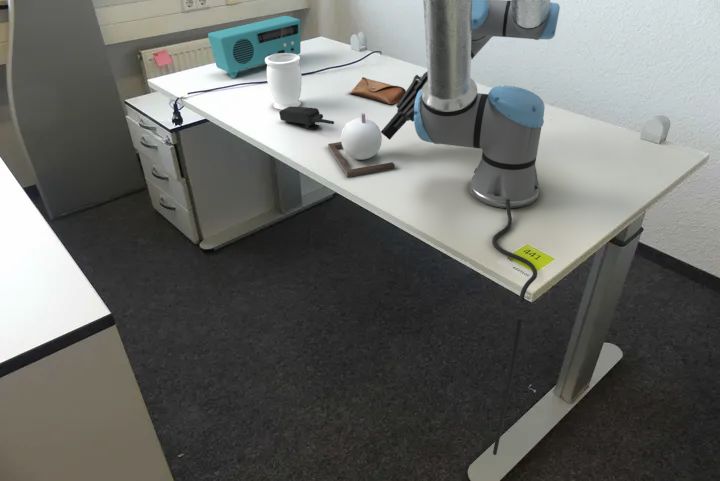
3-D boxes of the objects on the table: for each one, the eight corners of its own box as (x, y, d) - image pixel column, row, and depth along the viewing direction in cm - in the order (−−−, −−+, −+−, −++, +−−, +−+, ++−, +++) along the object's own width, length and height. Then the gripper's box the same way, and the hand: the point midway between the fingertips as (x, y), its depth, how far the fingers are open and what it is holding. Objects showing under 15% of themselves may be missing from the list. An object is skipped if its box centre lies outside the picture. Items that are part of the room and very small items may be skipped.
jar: (280, 114, 166) (275, 65, 158) (264, 104, 173) (258, 57, 165) (310, 106, 171) (306, 58, 163) (293, 97, 178) (288, 50, 170)
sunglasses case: (346, 93, 178) (352, 72, 177) (358, 98, 184) (364, 78, 183) (391, 104, 169) (398, 83, 168) (402, 109, 175) (408, 89, 174)
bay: (394, 169, 136) (394, 164, 135) (347, 177, 133) (347, 173, 132) (371, 140, 150) (371, 136, 149) (328, 147, 147) (328, 143, 146)
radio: (229, 82, 192) (222, 38, 183) (214, 75, 198) (206, 32, 189) (305, 60, 210) (302, 19, 201) (289, 54, 216) (285, 15, 208)
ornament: (388, 160, 140) (388, 116, 133) (352, 169, 136) (350, 124, 129) (370, 145, 147) (370, 102, 140) (335, 153, 144) (333, 110, 137)
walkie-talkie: (294, 108, 165) (346, 116, 154) (287, 127, 164) (338, 136, 153) (281, 98, 159) (334, 106, 148) (274, 118, 159) (326, 127, 148)
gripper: (469, 80, 131) (404, 154, 137) (446, 64, 142) (386, 133, 147) (451, 61, 127) (384, 138, 133) (428, 46, 137) (367, 118, 143)
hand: (385, 135), depth 140 cm, fingers closed
